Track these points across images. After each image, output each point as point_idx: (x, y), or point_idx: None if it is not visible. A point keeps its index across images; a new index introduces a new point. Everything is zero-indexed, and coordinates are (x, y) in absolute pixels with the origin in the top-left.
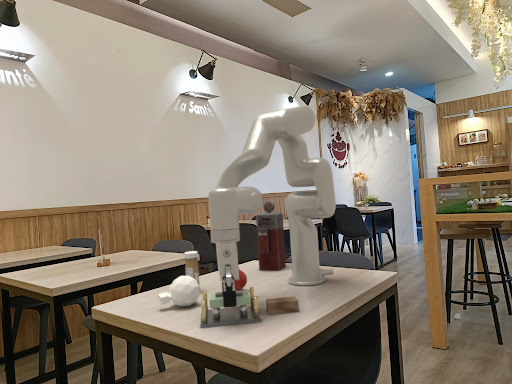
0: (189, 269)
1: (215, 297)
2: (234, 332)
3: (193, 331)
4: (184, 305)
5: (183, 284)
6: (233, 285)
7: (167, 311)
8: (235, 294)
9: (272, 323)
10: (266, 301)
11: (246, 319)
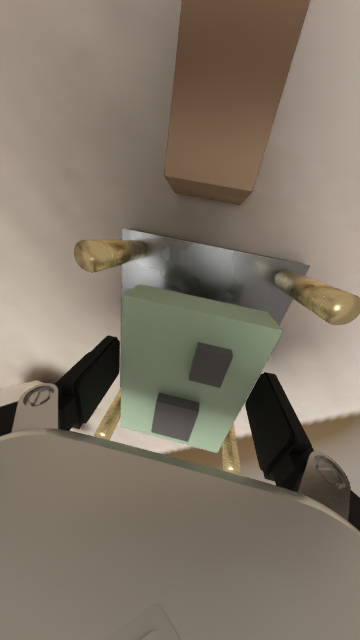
0: None
1: (192, 433)
2: (323, 363)
3: (243, 421)
4: None
5: None
6: (343, 504)
7: (89, 423)
8: (297, 421)
9: (353, 227)
10: (181, 181)
11: (275, 317)
